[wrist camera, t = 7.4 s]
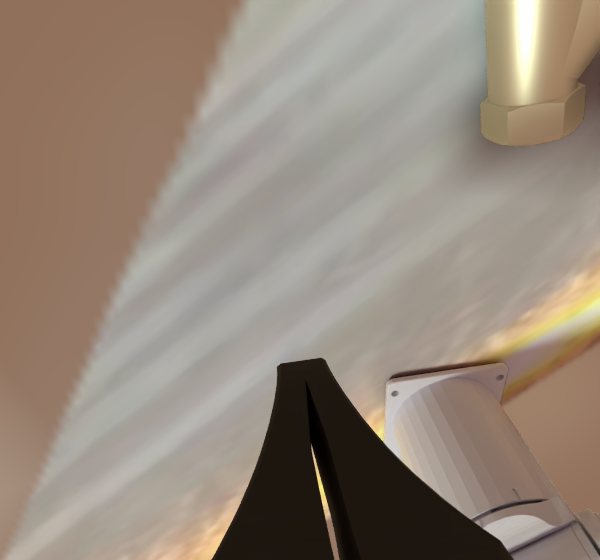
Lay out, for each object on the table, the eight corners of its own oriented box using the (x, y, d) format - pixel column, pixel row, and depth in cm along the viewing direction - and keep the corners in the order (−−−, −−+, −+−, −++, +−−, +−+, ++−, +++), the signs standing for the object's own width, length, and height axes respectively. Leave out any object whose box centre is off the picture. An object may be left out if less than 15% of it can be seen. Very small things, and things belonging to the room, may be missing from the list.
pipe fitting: (626, -134, 17) (458, -80, 16) (733, -171, 13) (526, -105, 13) (602, 87, 21) (469, 132, 21) (679, 100, 18) (522, 154, 17)
